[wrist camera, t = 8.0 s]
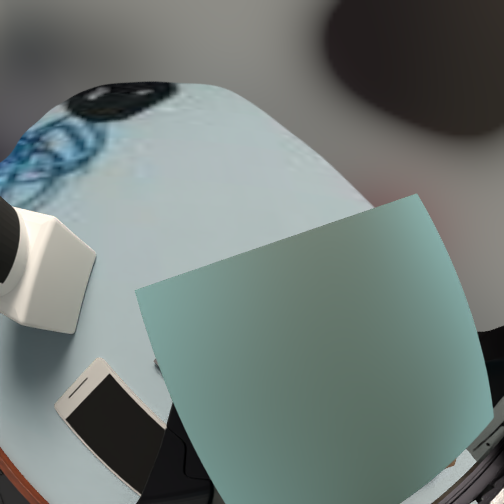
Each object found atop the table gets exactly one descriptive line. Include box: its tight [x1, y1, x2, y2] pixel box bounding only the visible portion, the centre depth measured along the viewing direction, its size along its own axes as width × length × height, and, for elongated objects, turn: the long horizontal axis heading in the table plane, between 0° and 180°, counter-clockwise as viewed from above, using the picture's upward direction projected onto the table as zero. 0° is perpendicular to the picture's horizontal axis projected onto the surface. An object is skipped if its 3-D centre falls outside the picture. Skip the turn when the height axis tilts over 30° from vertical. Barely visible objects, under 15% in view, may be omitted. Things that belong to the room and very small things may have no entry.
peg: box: [135, 194, 494, 504], centre depth 9 cm, size 4×4×13 cm
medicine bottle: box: [0, 197, 96, 334], centre depth 14 cm, size 7×7×12 cm
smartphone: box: [54, 358, 167, 496], centre depth 16 cm, size 7×16×1 cm, turn 47°
